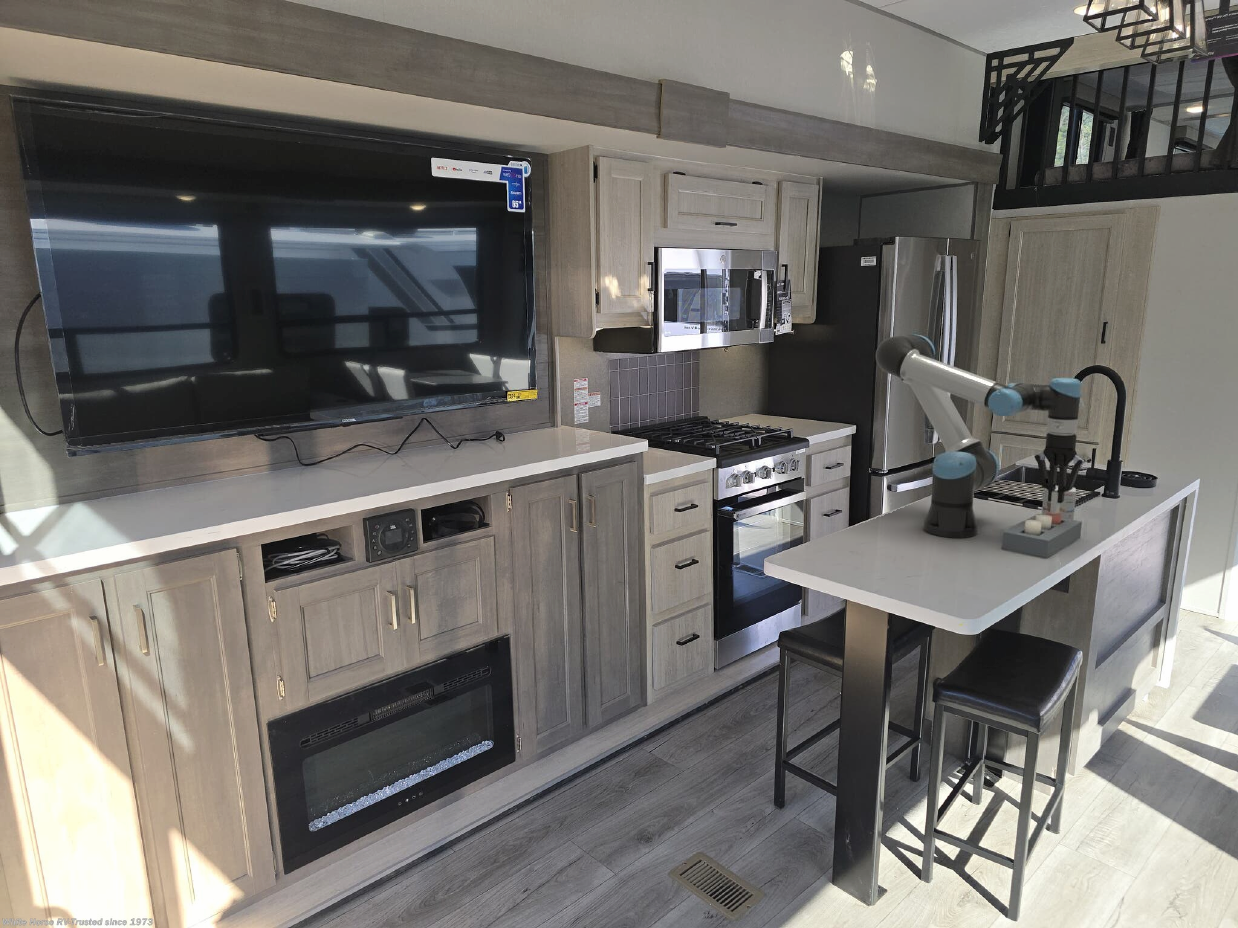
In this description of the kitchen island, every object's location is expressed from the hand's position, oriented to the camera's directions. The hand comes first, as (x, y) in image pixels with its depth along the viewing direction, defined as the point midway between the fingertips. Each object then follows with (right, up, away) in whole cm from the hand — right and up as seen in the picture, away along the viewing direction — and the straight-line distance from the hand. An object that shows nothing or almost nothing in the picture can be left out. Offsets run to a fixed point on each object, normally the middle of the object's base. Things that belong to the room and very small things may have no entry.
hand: (1054, 512), depth 228 cm
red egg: (0, -5, +1) cm, 5 cm away
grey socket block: (-5, -9, -3) cm, 11 cm away
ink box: (+8, -5, +14) cm, 17 cm away
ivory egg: (-11, -7, -9) cm, 16 cm away
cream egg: (-6, -5, -4) cm, 9 cm away
